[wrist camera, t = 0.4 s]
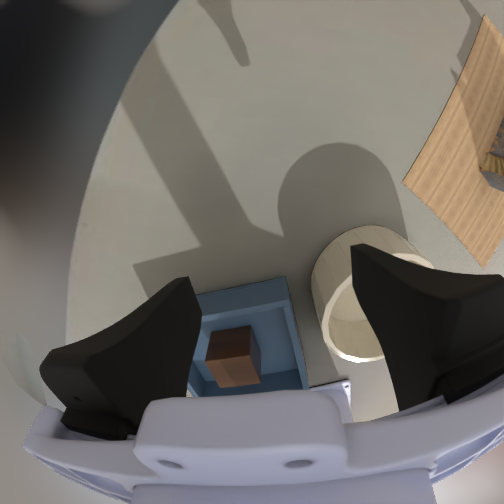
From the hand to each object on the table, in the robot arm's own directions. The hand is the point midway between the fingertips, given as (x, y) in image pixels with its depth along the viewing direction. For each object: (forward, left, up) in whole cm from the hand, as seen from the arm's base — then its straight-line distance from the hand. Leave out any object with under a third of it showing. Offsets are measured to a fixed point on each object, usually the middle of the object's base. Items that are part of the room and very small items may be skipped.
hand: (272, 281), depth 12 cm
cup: (-8, -7, -10) cm, 14 cm away
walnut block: (-12, +6, -10) cm, 16 cm away
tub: (-12, +6, -10) cm, 16 cm away
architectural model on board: (+3, -26, -10) cm, 28 cm away
